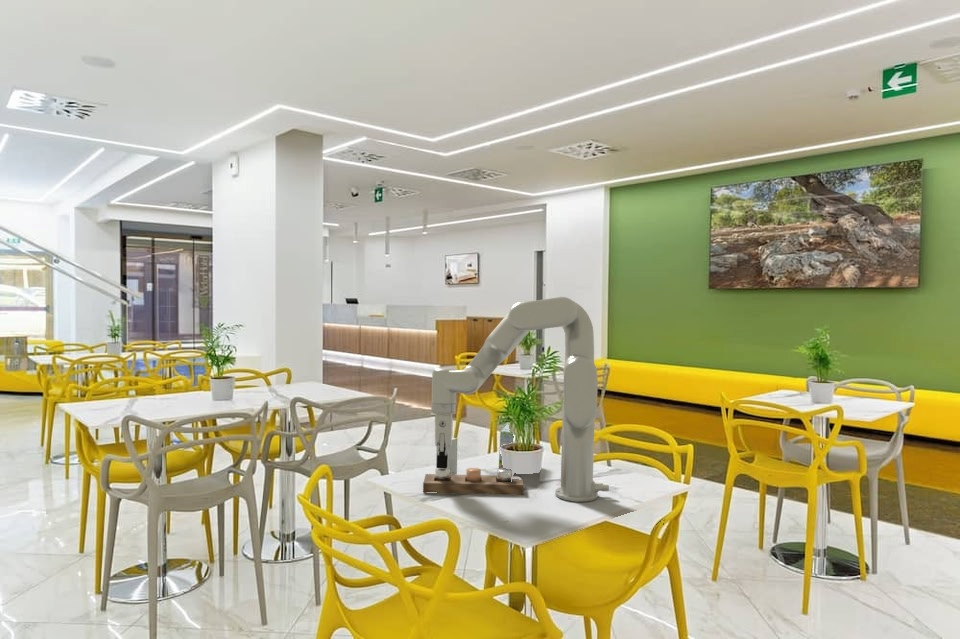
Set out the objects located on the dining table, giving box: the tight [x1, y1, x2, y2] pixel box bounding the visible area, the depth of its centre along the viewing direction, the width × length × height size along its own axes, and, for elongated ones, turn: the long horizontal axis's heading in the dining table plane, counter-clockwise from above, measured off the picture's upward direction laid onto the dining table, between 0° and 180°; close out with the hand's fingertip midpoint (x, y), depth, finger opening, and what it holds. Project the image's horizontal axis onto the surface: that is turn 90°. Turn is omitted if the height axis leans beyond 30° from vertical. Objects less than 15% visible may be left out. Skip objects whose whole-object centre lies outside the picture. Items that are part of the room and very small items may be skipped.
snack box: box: [498, 423, 514, 469], centre depth 224 cm, size 21×6×15 cm, turn 168°
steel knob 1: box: [434, 467, 450, 481], centre depth 198 cm, size 4×4×3 cm
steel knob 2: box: [496, 468, 512, 482], centre depth 199 cm, size 4×4×3 cm
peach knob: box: [465, 467, 482, 482], centre depth 199 cm, size 4×4×3 cm
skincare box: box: [435, 437, 458, 475], centre depth 215 cm, size 6×4×12 cm
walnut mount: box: [422, 473, 524, 496], centre depth 199 cm, size 30×10×3 cm, turn 90°
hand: (441, 467), depth 198 cm, fingers closed
